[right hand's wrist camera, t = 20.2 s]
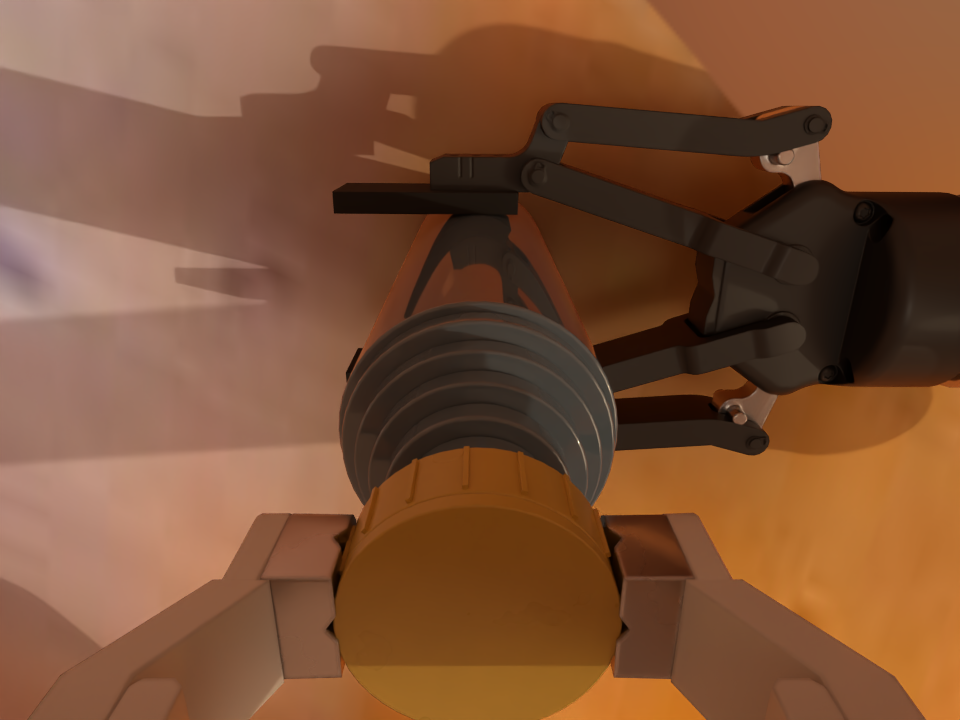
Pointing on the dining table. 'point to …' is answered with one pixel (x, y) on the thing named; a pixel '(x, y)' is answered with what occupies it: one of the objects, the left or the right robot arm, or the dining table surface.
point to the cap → (477, 590)
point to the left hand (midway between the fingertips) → (348, 287)
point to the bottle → (478, 360)
